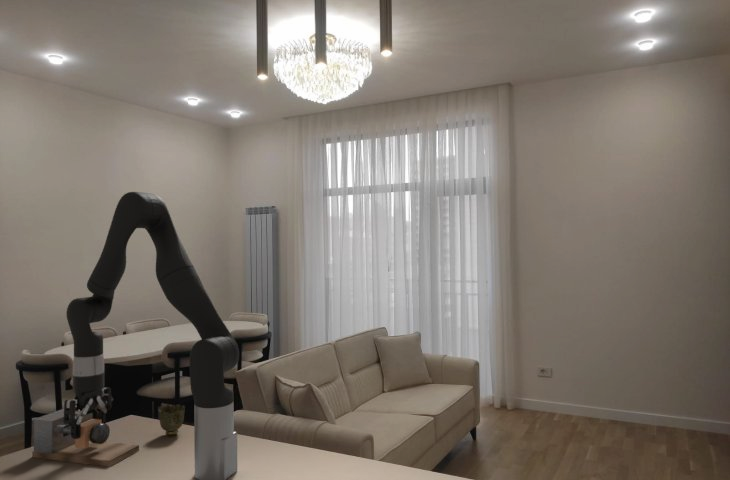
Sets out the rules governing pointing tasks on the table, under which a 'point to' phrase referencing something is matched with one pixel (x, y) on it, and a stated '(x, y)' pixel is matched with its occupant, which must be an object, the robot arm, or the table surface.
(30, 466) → the table surface
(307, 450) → the table surface
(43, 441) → the block
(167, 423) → the cup
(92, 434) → the shaft
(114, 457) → the baseboard
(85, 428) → the spacer
